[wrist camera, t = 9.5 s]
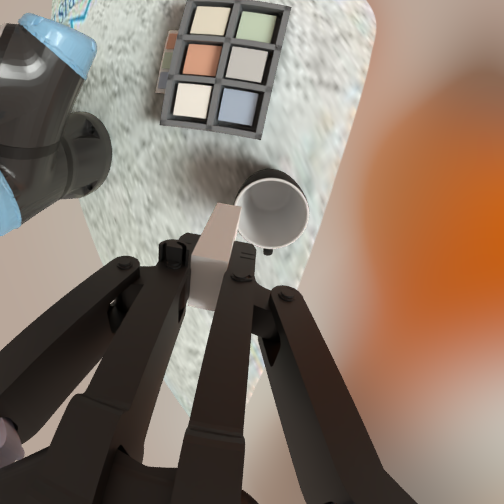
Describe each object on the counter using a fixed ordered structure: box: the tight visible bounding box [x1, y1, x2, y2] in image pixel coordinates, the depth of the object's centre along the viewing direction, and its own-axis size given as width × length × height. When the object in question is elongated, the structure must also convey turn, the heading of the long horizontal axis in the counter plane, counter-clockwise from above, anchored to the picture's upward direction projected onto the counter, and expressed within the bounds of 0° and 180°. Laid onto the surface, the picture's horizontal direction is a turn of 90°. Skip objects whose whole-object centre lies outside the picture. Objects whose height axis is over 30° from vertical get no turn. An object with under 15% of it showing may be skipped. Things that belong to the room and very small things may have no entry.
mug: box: [234, 169, 309, 256], centre depth 37 cm, size 12×9×10 cm
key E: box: [236, 11, 277, 44], centre depth 27 cm, size 4×4×2 cm
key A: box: [218, 88, 259, 126], centre depth 33 cm, size 4×4×2 cm
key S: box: [190, 6, 232, 37], centre depth 26 cm, size 4×4×2 cm
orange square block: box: [183, 44, 223, 78], centre depth 29 cm, size 4×4×2 cm
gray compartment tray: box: [155, 0, 291, 140], centre depth 30 cm, size 17×20×4 cm
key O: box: [173, 83, 214, 119], centre depth 32 cm, size 4×4×2 cm
